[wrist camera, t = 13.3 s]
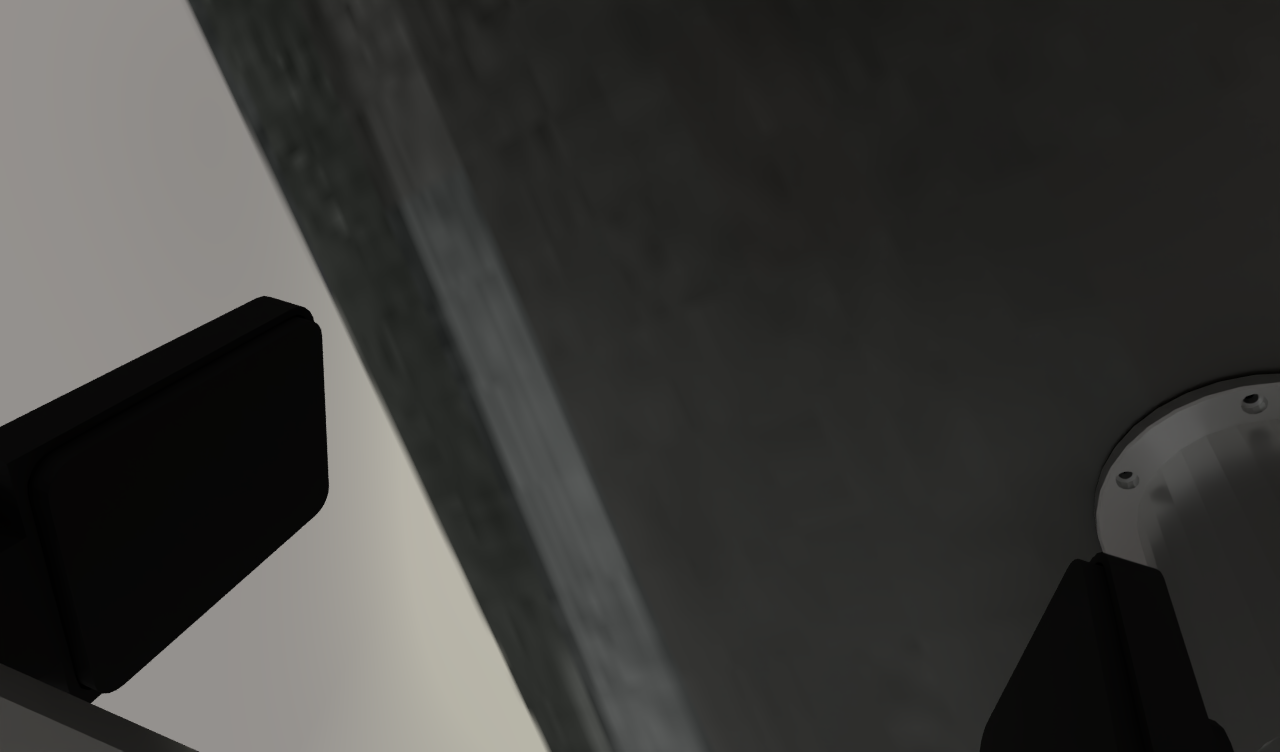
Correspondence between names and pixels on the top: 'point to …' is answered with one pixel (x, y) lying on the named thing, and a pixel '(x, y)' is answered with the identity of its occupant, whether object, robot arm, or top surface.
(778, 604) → the top surface
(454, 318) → the top surface
